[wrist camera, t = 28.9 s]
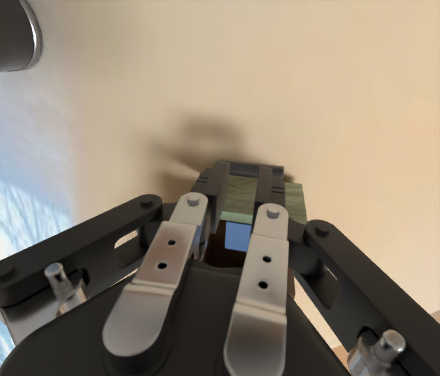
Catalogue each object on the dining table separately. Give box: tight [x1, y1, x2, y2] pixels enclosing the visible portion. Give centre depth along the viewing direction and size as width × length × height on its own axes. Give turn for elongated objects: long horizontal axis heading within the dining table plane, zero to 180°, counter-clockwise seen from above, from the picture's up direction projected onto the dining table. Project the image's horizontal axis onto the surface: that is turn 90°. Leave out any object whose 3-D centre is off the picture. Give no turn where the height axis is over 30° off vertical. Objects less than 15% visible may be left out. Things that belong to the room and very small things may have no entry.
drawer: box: [203, 159, 307, 268], centre depth 32 cm, size 19×13×8 cm, turn 178°
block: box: [225, 220, 251, 252], centre depth 33 cm, size 4×4×4 cm
